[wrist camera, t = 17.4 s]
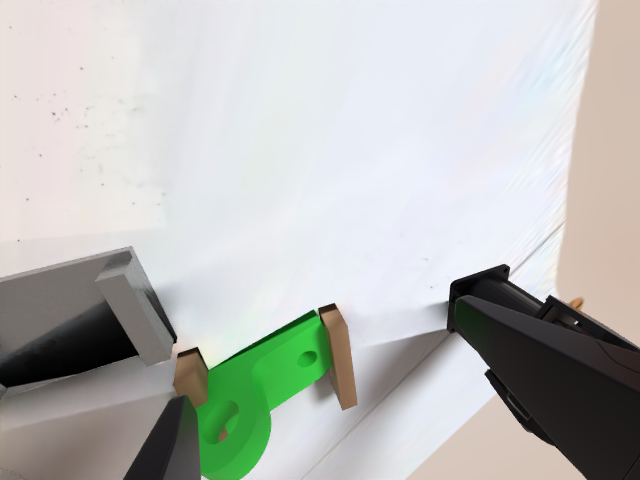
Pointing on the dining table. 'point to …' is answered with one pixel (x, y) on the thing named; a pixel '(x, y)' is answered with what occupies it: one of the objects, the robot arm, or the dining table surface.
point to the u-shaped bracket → (78, 320)
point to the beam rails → (195, 372)
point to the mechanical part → (257, 394)
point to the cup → (9, 475)
